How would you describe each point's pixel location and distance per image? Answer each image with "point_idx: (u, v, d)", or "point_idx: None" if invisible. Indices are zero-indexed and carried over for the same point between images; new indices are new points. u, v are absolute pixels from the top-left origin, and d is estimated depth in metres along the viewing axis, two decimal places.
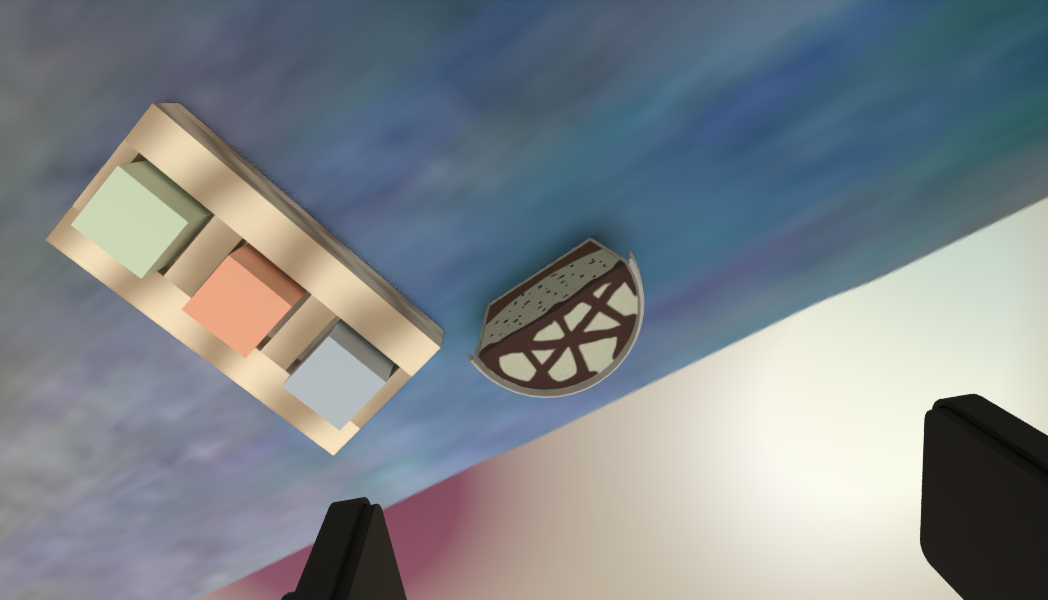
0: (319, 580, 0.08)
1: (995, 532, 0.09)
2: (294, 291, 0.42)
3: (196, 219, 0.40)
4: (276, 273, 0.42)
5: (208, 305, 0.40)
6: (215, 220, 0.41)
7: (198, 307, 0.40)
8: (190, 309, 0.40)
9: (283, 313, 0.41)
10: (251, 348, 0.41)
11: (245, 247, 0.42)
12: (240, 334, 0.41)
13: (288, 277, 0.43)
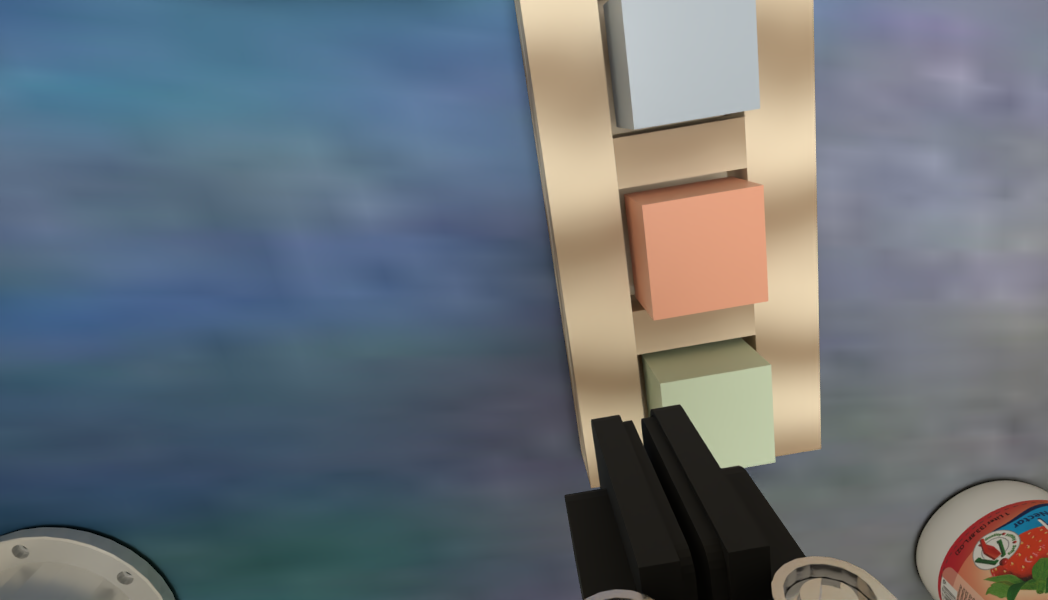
0: (628, 471, 0.09)
1: None
2: (632, 211, 0.27)
3: (654, 372, 0.29)
4: (633, 246, 0.28)
5: (735, 283, 0.26)
6: (642, 349, 0.30)
7: (747, 288, 0.27)
8: (759, 293, 0.27)
9: (660, 205, 0.25)
10: (742, 191, 0.25)
11: (639, 299, 0.29)
12: (736, 219, 0.26)
13: (628, 228, 0.29)
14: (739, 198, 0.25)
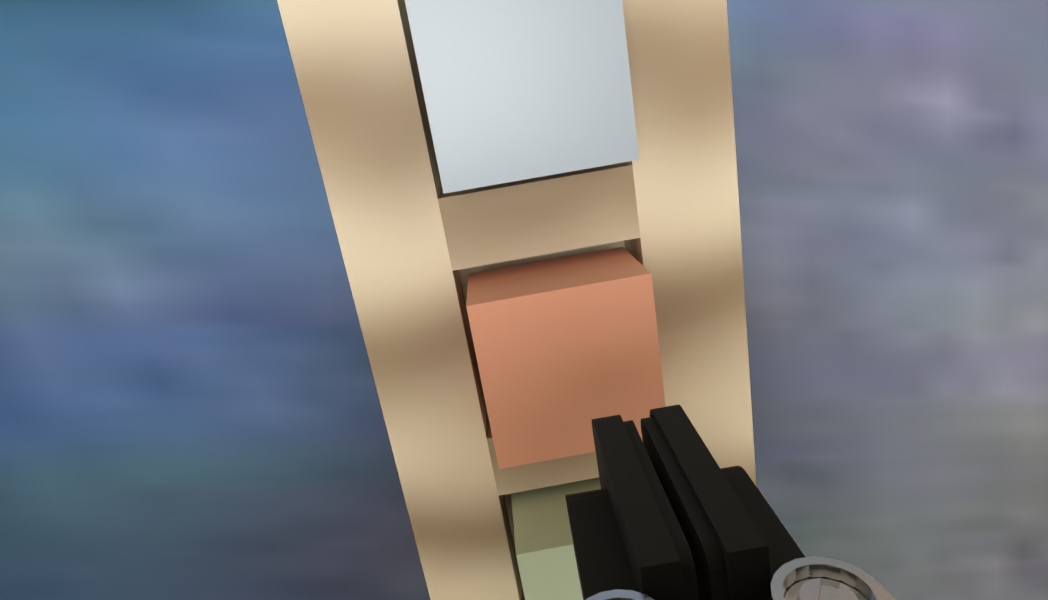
0: (629, 471, 0.09)
1: None
2: None
3: (516, 528, 0.20)
4: None
5: (618, 414, 0.18)
6: (505, 488, 0.21)
7: (637, 420, 0.18)
8: None
9: (495, 305, 0.17)
10: (620, 283, 0.17)
11: None
12: (613, 324, 0.17)
13: None
14: (615, 293, 0.17)
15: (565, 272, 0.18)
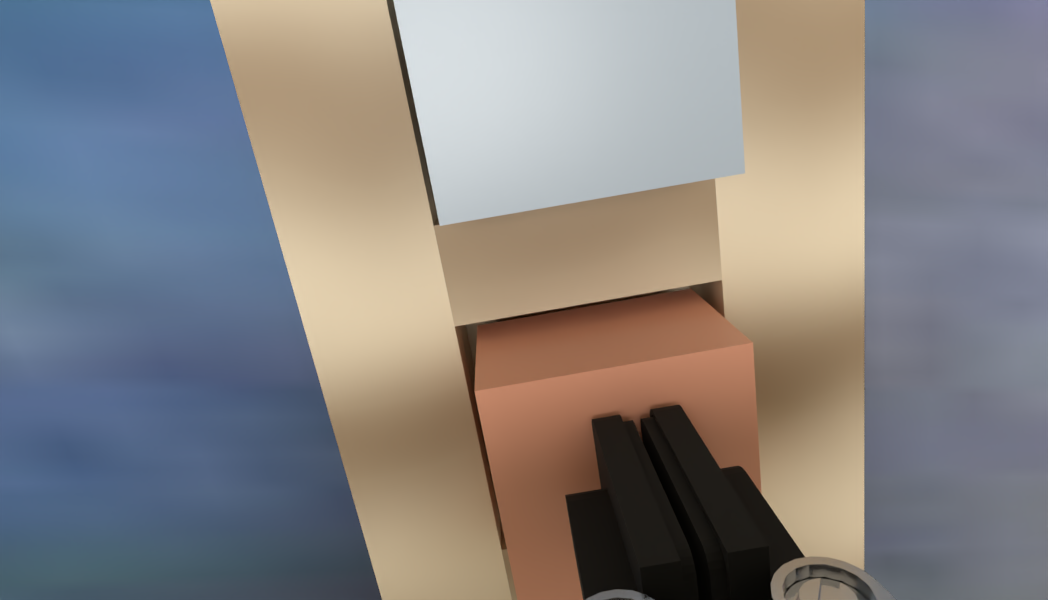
0: (629, 471, 0.09)
1: None
2: None
3: None
4: None
5: None
6: None
7: None
8: None
9: (517, 390, 0.11)
10: (705, 357, 0.11)
11: None
12: (692, 416, 0.11)
13: None
14: (698, 372, 0.11)
15: (617, 332, 0.13)
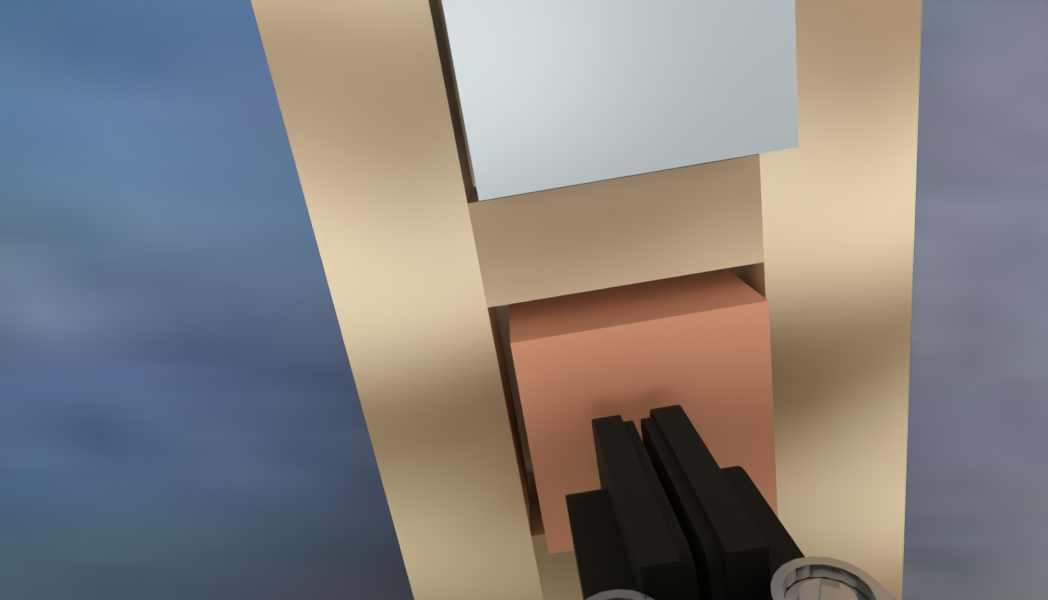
0: (628, 471, 0.09)
1: None
2: None
3: None
4: None
5: None
6: (555, 599, 0.15)
7: None
8: None
9: (550, 342, 0.12)
10: (724, 314, 0.12)
11: None
12: (711, 369, 0.12)
13: None
14: (717, 328, 0.12)
15: (641, 293, 0.13)
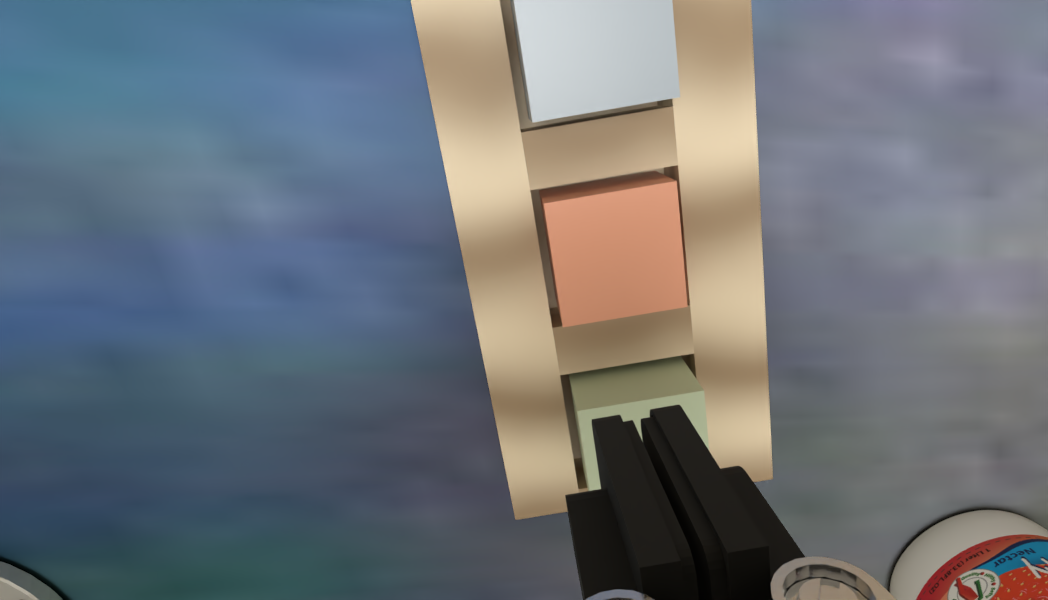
0: (628, 471, 0.09)
1: None
2: (542, 209, 0.25)
3: (575, 396, 0.26)
4: (548, 247, 0.26)
5: (650, 287, 0.24)
6: (565, 369, 0.27)
7: (664, 292, 0.24)
8: (678, 298, 0.25)
9: (564, 203, 0.23)
10: (654, 188, 0.23)
11: (557, 303, 0.27)
12: (648, 219, 0.24)
13: (544, 226, 0.27)
14: (650, 195, 0.23)
15: (613, 184, 0.25)
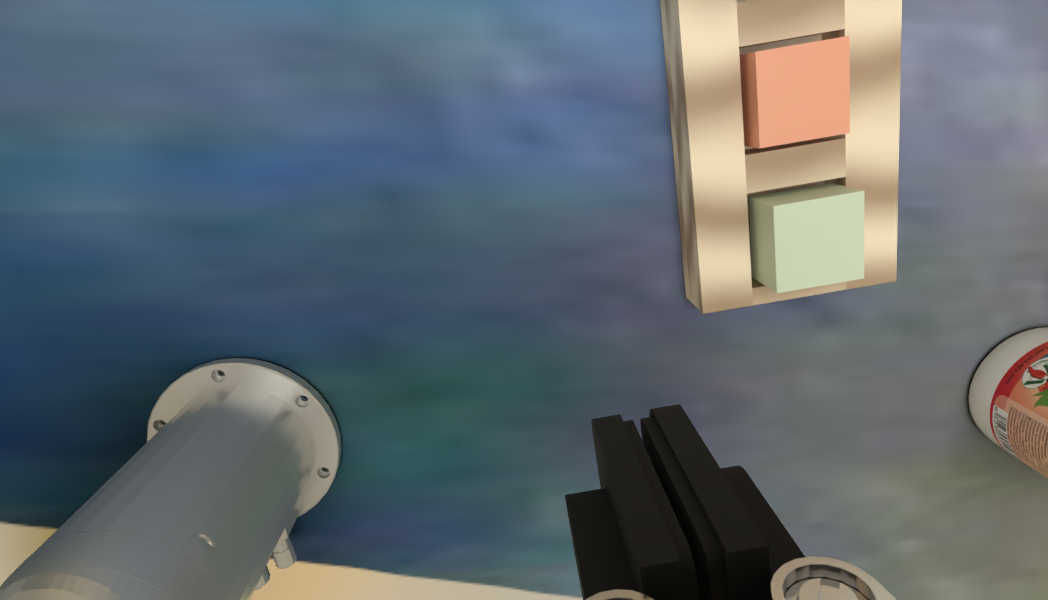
0: (628, 471, 0.09)
1: None
2: (741, 66, 0.35)
3: (764, 202, 0.35)
4: None
5: (824, 117, 0.34)
6: (751, 188, 0.36)
7: (834, 121, 0.34)
8: (843, 126, 0.34)
9: (769, 51, 0.33)
10: (833, 40, 0.33)
11: None
12: (827, 64, 0.33)
13: None
14: (830, 46, 0.33)
15: None
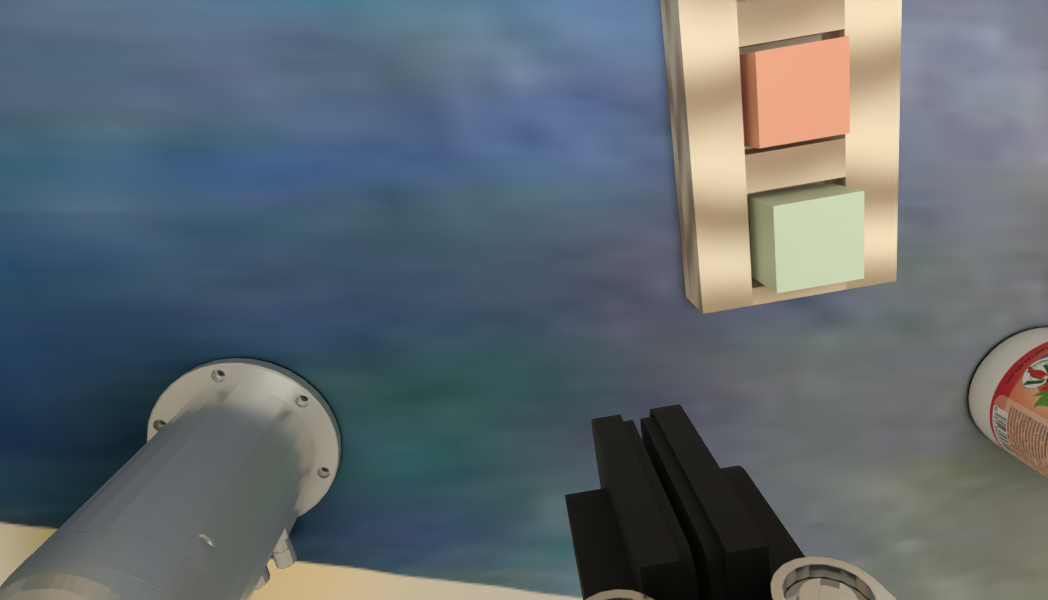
0: (629, 471, 0.09)
1: None
2: (741, 66, 0.35)
3: (764, 202, 0.35)
4: None
5: (824, 117, 0.34)
6: (751, 188, 0.36)
7: (834, 121, 0.34)
8: (843, 126, 0.34)
9: (769, 51, 0.33)
10: (833, 41, 0.33)
11: None
12: (827, 64, 0.33)
13: None
14: (830, 46, 0.33)
15: None
